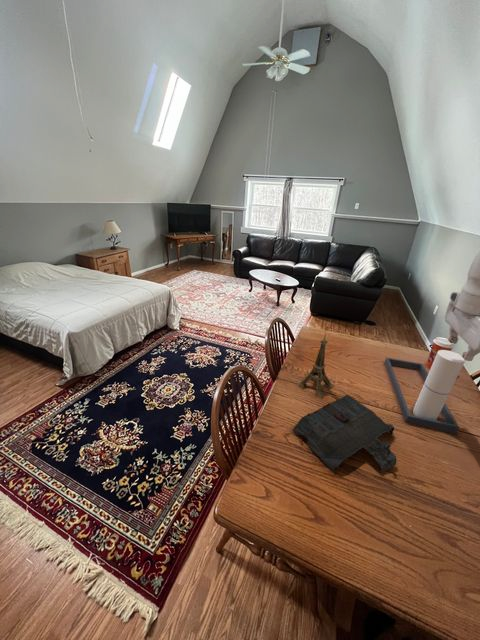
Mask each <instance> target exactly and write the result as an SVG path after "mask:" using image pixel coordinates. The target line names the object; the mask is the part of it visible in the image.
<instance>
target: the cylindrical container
mask: <svg viewBox="0 0 480 640" xmlns="http://www.w3.org/2000/svg"><path fill="white" fill-rule="evenodd" d="M465 362H466V360H464V359H463V357H462V355H461V354H459V353H457V352H455V351H452V350H451V351H448V350H439V351H438V352H437V355H436V357H435V359H434V362H433V364H432V366H431V369H430V368H429V371H428V376H427V378H426V381H424V383H423V386H422V388H421V390H420V392H419V395H418V397H417V399H416V402H415V405H414V407H413V409H412V415H414V416H418V417H423V418H428V419H432V420H437V421H438V418H439V417H440V414H441V410H442V408H443V406H444V404H446V402H447V399H448V397H449V395H450V394H451V391H452V389H453V387H454V385H455V383H456V381H457V379H458V376H459V375H460V373H461V371H462V368H463V366H464V364H465Z"/></svg>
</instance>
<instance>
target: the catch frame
mask: <svg viewBox="0 0 480 640" xmlns="http://www.w3.org/2000/svg"><path fill="white" fill-rule="evenodd" d="M384 366H385V368H386V372H387V374H388V377H389V379H390V383H391V385H392V388H393V389H392V390H393V391H394V395H395V398H396V400H397V404H398V406H399V409H400V411H401V414H402V417H403V419H404V423H406V424H410V425H414V426H418V427H423V428H427V429H432V430H437V431H441V432H445V433H450V434H454V435H456V434H457V432H458V430H459V428H460V426H459V425H458V423H457V421H456V419H455V418H454V416H453V414H452V413H451V410H450V409H449V407H448V405H447V404H446V403H445V404H444V406H443V408H442V410H441V412H440V414H441V415H442V417H443V419H444V420H445V421H441V420H438V419H437V420H432V419H428V418H423V417H418V416H415V415H414V414H411V413H410V410H409V408H408V404H407V402H406V399H405V397H404V395H403V392H402V389H401V386H400V384H399V382H398V379H397V376H396V373H395V371H394V369H393V366H394V367H400V368H405V369H410V370H416V371H418V372H419V373H420V375H421V377H422V379H423V382H425V381H426V378H427V376H428V374H429V372H428V371H427V369H426V367H425V366H424V364H423V363H419V362H415V361H409V360H403V359H398V358H391V357H385V359H384Z"/></svg>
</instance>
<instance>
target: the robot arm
mask: <svg viewBox="0 0 480 640" xmlns="http://www.w3.org/2000/svg"><path fill="white" fill-rule="evenodd" d="M444 321H445V323H446V324H447V325H449V328H448V329H449V333H448V335H449V336H448V338H447V339H448V341H449V342H450V343H453V344H454V345H456V344H457V343H458V341H459V337H460V338H461V339H462V341H464V342H465V344H467V345H468V347H467V351H463V352H462V355H461V356H462V357H463V359H464V360H465V362H466V361H467V362H472V361H473V360H474V357H476V356H477V355H478V354H480V248H479V249H478V250H477V252H476V254H475V255H474V258H473V259H472V262H471V264H470V266H469V269H468V272H467V280H466V281H465V283H464V285H463V286H462V287H461V290H460V291H452V292H451V293H450V295H449V302H448V305H447V307H446V311H445V314H444Z"/></svg>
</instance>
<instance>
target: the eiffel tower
mask: <svg viewBox="0 0 480 640" xmlns="http://www.w3.org/2000/svg"><path fill="white" fill-rule="evenodd" d="M326 334H327V332H325V333H324V337H323V338H322V339H320V342H319V343H320V347H319V350H318V353H317V356H316V358H315V361H314V364H312V368H311V371H309V372H308V374H307V375H306V376H305V378H303V380H301V381H299V382H298V383H297V384H296V386H297V387H299V388H301V389H304V388H305V387H307V383H308V382H309V381H314V382H315V383H316V384H317V385H316V392H315V393H314V396H316V397H318V398H320V399H323V397H324V396H325V395H326V394H325V392H324V390H323V387H322V382H323V386H324V387H327V388H328V389H331V388H332V387H333V386H334V384H333V383H332V382H331V381H330V379H329V378H328V376H327V373H326V371H325V367H326V365H327V364H326V363H325V357H326V356H325V355H326V345H327V344H328V339H326Z"/></svg>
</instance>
